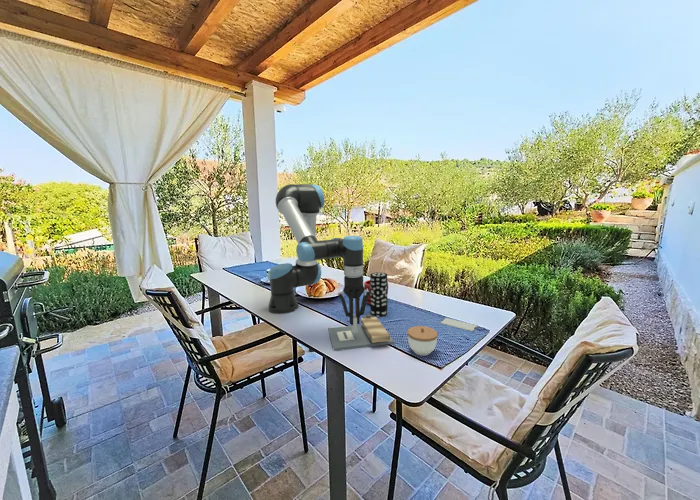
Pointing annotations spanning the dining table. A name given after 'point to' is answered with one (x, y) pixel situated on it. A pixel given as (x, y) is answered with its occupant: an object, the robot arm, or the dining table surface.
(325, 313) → the dining table surface
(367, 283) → the plant pot
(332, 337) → the label panel
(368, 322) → the swing arm
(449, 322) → the smartphone
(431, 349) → the lidded jar
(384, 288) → the spotted tube
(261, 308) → the dining table surface
